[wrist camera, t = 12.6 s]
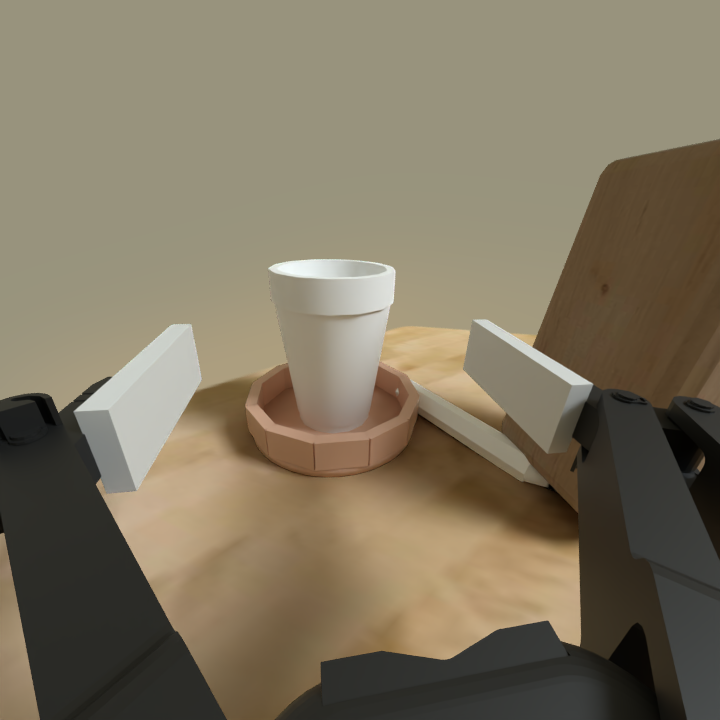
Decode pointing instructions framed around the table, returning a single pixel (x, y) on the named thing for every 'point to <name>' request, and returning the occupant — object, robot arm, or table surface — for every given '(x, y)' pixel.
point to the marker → (477, 436)
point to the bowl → (326, 450)
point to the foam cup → (332, 335)
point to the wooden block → (639, 292)
